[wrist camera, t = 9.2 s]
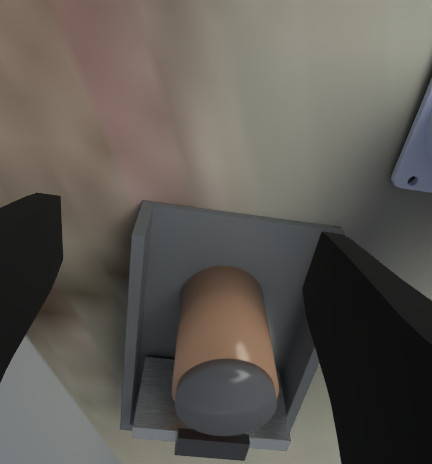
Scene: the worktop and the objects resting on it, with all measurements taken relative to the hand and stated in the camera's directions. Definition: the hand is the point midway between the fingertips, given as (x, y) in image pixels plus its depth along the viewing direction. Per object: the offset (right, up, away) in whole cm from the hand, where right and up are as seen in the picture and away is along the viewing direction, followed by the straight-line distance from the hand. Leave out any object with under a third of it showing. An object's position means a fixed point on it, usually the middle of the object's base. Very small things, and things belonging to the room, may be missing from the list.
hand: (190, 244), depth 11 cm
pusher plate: (0, -8, +17) cm, 19 cm away
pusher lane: (+1, -5, +15) cm, 15 cm away
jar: (+1, -4, +13) cm, 14 cm away
